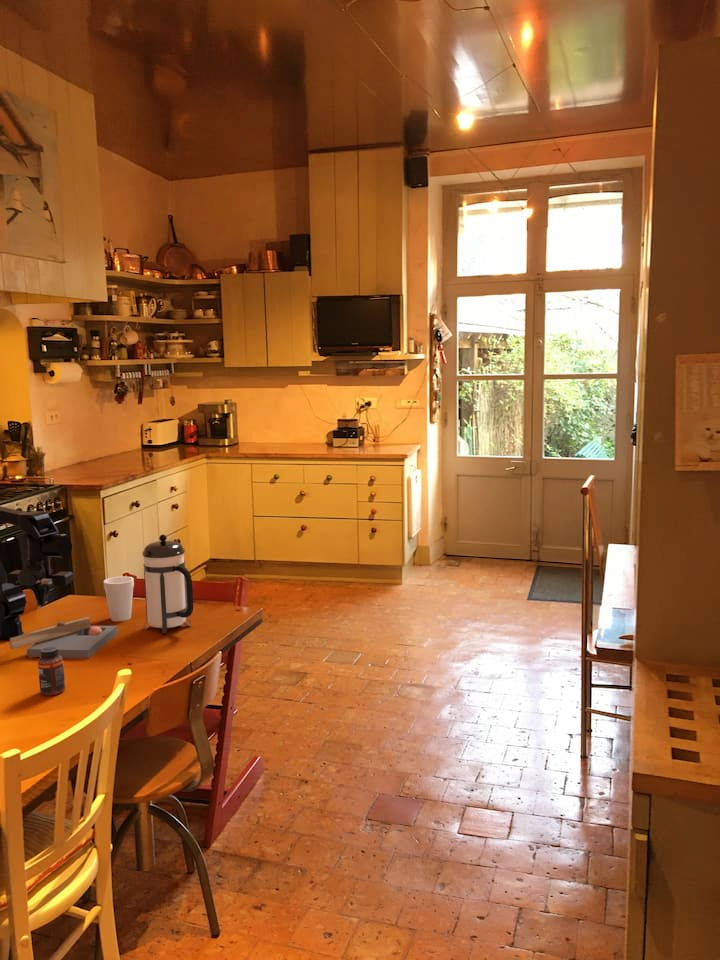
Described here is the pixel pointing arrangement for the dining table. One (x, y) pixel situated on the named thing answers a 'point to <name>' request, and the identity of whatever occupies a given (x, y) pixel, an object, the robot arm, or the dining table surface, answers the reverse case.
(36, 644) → the board
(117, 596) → the foam cup
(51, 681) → the supplement bottle
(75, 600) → the dining table surface
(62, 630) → the lever
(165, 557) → the coffee press
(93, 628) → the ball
